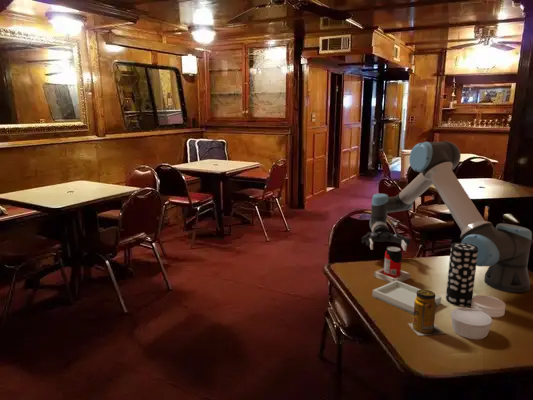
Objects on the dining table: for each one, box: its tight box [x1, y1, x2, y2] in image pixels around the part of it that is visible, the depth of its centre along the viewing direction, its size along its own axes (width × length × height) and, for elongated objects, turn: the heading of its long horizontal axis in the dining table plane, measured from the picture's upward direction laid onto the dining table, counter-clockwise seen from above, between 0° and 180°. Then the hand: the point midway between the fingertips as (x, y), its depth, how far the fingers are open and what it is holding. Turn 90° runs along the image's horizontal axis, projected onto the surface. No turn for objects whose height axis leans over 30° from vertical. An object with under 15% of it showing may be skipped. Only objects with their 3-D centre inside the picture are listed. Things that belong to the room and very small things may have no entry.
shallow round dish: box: [470, 294, 506, 318], centre depth 137 cm, size 10×10×4 cm
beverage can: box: [383, 246, 403, 278], centre depth 163 cm, size 6×6×12 cm
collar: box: [373, 267, 411, 283], centre depth 164 cm, size 10×10×2 cm
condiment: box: [407, 288, 446, 336], centre depth 125 cm, size 7×8×12 cm
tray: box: [371, 280, 442, 315], centre depth 144 cm, size 18×14×2 cm
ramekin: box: [450, 307, 493, 340], centre depth 124 cm, size 11×11×5 cm
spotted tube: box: [445, 242, 478, 307], centre depth 142 cm, size 8×8×20 cm
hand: (388, 247), depth 172 cm, fingers open, 13 cm apart
